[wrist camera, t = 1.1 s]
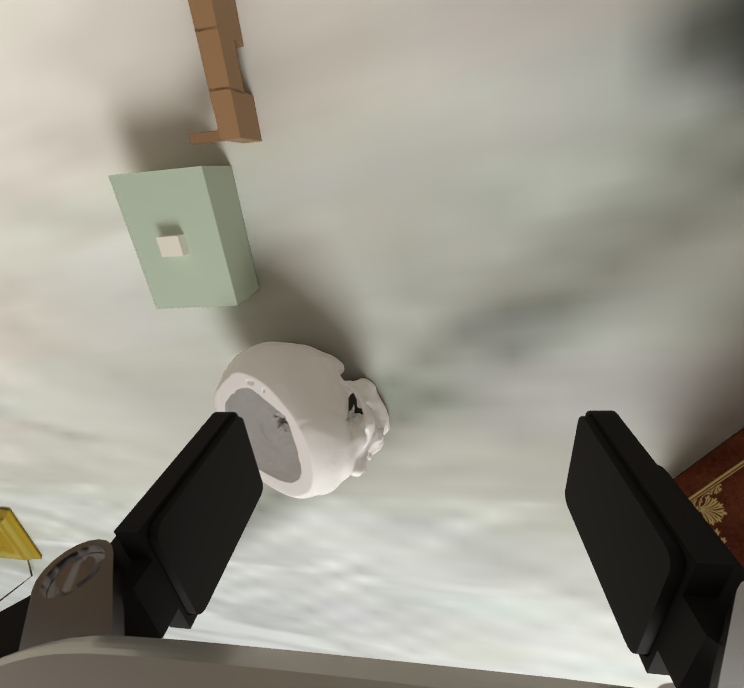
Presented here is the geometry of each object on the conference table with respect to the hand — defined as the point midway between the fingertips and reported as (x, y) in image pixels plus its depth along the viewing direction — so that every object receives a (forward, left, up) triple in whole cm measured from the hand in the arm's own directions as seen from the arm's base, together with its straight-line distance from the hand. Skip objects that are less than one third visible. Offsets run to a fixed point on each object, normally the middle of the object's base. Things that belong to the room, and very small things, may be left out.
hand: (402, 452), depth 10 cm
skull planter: (+19, -14, -34) cm, 42 cm away
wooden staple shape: (-17, -18, -34) cm, 42 cm away
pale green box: (-2, -25, -34) cm, 42 cm away
